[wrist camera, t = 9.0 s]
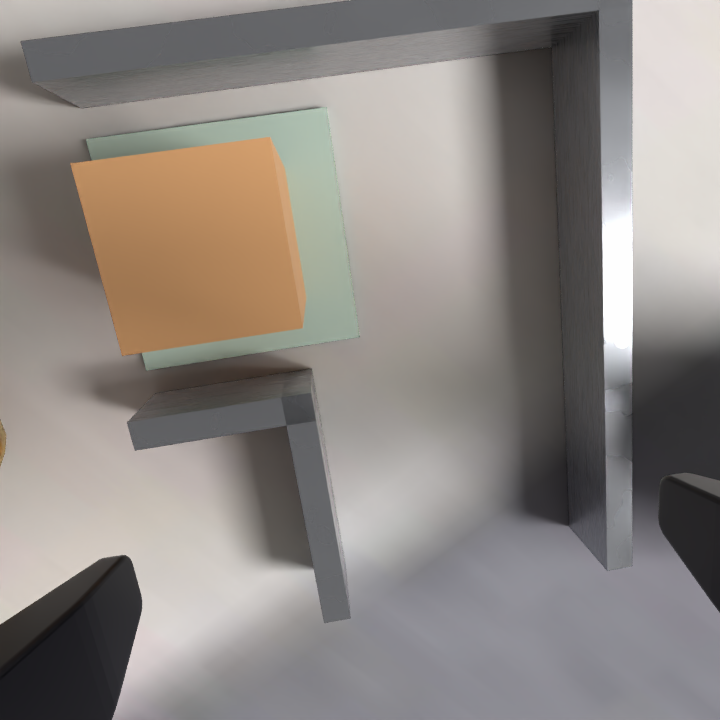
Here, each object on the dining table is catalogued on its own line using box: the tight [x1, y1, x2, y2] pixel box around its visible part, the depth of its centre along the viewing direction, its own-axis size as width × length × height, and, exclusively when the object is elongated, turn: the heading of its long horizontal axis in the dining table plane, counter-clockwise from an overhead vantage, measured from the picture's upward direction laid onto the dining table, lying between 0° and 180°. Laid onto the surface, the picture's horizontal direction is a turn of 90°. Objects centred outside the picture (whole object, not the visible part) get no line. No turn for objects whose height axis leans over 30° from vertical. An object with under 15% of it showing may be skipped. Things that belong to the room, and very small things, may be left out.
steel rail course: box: [21, 0, 632, 623], centre depth 18 cm, size 17×20×3 cm
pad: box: [86, 107, 360, 371], centre depth 18 cm, size 8×8×1 cm
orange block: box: [70, 137, 306, 356], centre depth 15 cm, size 4×4×6 cm
